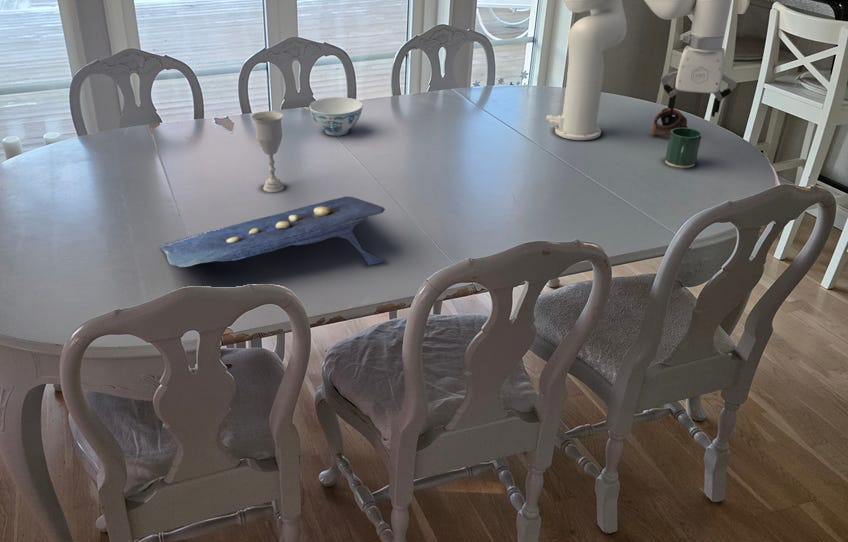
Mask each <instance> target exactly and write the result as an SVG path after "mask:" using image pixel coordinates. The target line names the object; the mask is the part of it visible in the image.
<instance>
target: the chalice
mask: <svg viewBox="0 0 848 542" xmlns="http://www.w3.org/2000/svg"><path fill="white" fill-rule="evenodd" d="M283 117H284V114H282V113H281V112H278V111H272V110H271V111H269V110H267V111H259V112H255V113H254V114H252V116H251V119H252V120H253V122H254V127H255V138H256V140H257V143H258V144H259V147H260V148H261V150H262V151H263V153H264V154H265V155H268V161H267V163H268V165H269V167H268V169H267V170H268V171H269V174H270V175H269V177H267V178H266V180H265V181H264V186H263V188H262V189H263V191H264V192H267V193H277V192H281V191H283V190H284V189H285V186H284V185H283V182H282V181H281V179H280V178H279V177H277V176H276V175H275V171H276V170H277V168H275V166H274V165H275V162H276V161H275V159H274V155H275V154H277V152H278V150H279V148H280V145H281V143H282V139H283V128H282V127H283V126H282V119H283Z"/></svg>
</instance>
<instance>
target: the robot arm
mask: <svg viewBox="0 0 848 542" xmlns="http://www.w3.org/2000/svg"><path fill="white" fill-rule="evenodd" d="M643 1H644V2H645V4H646V5H647V6H648V8H649V9H650V11H652V12H653V13H654V14H655V15H656V16H657V17H658V18H660V19H663V20H667V21H668V20H674V19H675V20H676V19H677V18H678V19H679V18H681V17H686V16H690V15H693V18H692V23H691V27H690V34H688V35H683V37H682V43H686V44H687V45H686V46H685V47H683V48H684V49H683V51H682V54H681V56H680V61H679V65H678V68H677V70H674V71H672V72H669V73H667V74H665V75H662V76H661V77H660V82H661V85H662V87H663V90H664V91H665V93H666V94H667V95H668V96H669V99H668V105H667V108H668V109H671V110H670V113H673V110H674V109H675V104H676V98H677V94H678V93H679V92H685V93H687V92H688V93H697V94H698V93H699V94H712V95H714V98H713V103H712V104H713V105H712V107H711V108H712V109H711V115H710V116H711V117H712V118H715V116H716V113H717V114H718V113H719V111H720V106H721V102H722V101H723V99H725V98H726V97H728V96H729V95H730V94H731V93H732V92H733V90H735V88H736V87H737V85H738V82H737V80H735V79H734V78H732V77H730V76H729V75H727V74H725V73H724V68H725V61H726V50H725V48H724V47H723V44H724V40H725V35H726V31H727V25H728V21H729V17H730V16H729V15H730V11H731V6H732V1H733V0H643ZM564 3H565V6H566V7H567V9H568V10H569V11H570V12H572V13H575V14H576V13H577V14H578V13H584V12H590V15H587V16H584V17H582V18H580V19H578V20H577V21H576V22H574V23H573V25H572V26H571V27H570V30H569V32H568V37H567V46H568V63H567V65H568V66H567V74H566V84H565V93H564V100H563V106H562V107H563V108H562V113H561V115H560V114H558V115H552V114H547V115H546V117H545V122H546V123H548V125H555V127H554V132H555V134H556V135H557V136H559V137H560V138H564V139H567V140H572V141H590V140H594V139H597V138H599V137H600V136H601V134H602V129H601V128H600V127H599V126H597V122H598V115H599V109H600V101H601V96H602V89H603V81H604V74H605V62H604V57H603V51H606V50H609V49H612V48H614V47H617V46H619V45H620V44H621V43H622V42H623V41H624V39H625V38H626V35H627V32H628V23H627V17H626V13H625V9H624V5H623V4H624V3H623V1H622V0H564ZM673 79H675V85H674V86H673V87H672V86H671V85H670V84H669V81H670V80H673ZM722 81H723V82H724V83H726V84H728V85H727V87H726V88H724V90H722V91H721V86H722Z"/></svg>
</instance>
